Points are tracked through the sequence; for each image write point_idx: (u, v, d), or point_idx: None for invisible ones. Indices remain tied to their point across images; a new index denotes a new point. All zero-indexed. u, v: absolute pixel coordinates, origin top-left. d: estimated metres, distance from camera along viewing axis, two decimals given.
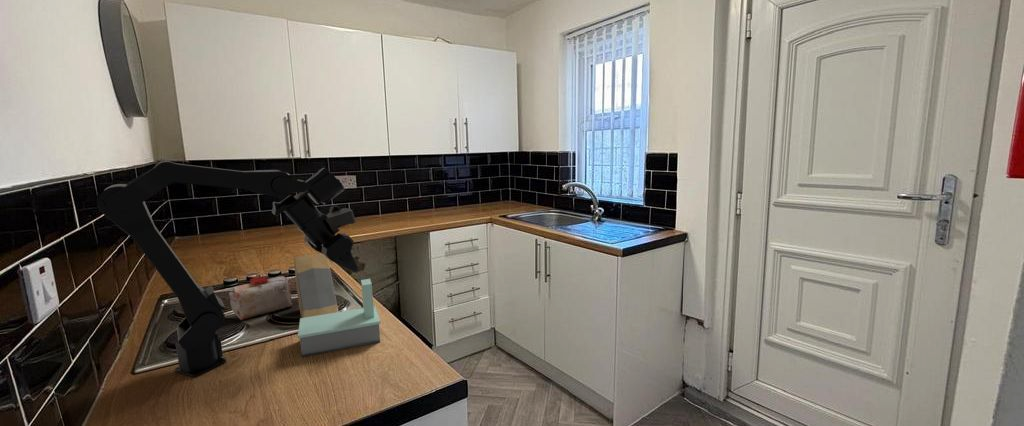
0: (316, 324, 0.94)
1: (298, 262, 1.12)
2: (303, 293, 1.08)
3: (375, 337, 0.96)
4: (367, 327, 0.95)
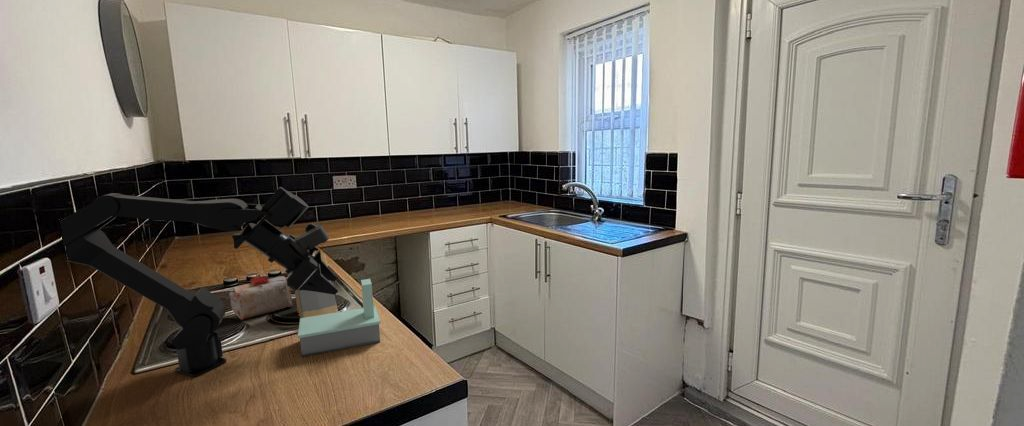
0: (316, 324, 0.94)
1: None
2: (302, 294, 1.07)
3: (375, 337, 0.96)
4: (367, 327, 0.95)
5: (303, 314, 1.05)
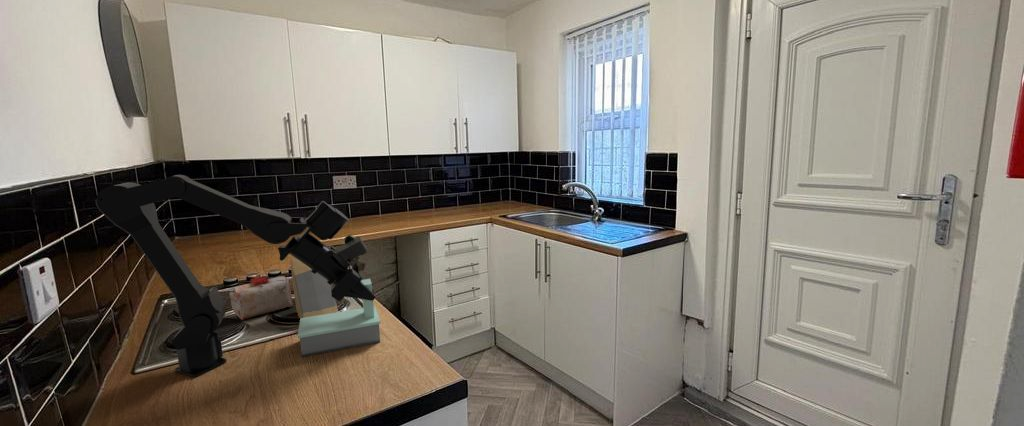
0: (316, 324, 0.94)
1: (295, 264, 1.11)
2: (301, 295, 1.07)
3: (375, 337, 0.96)
4: (367, 327, 0.95)
5: (303, 315, 1.04)
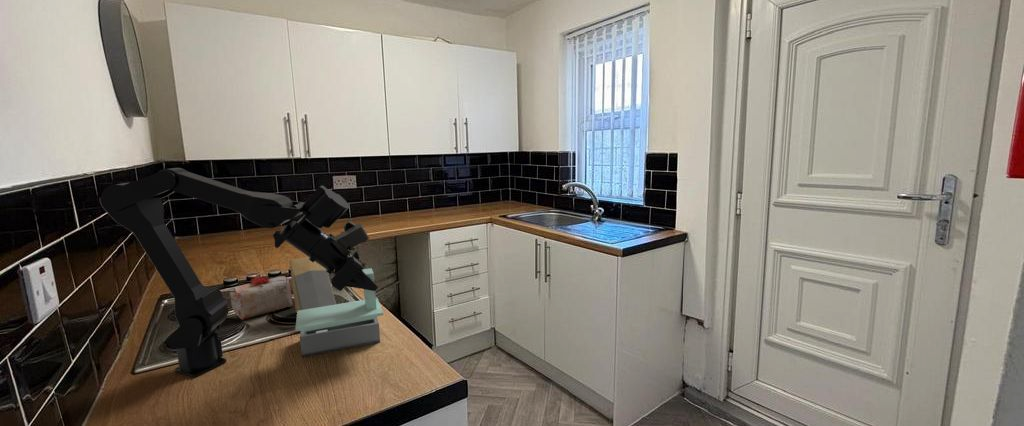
0: (315, 316, 0.88)
1: (295, 265, 1.10)
2: (301, 296, 1.06)
3: (375, 337, 0.96)
4: (367, 327, 0.95)
5: None
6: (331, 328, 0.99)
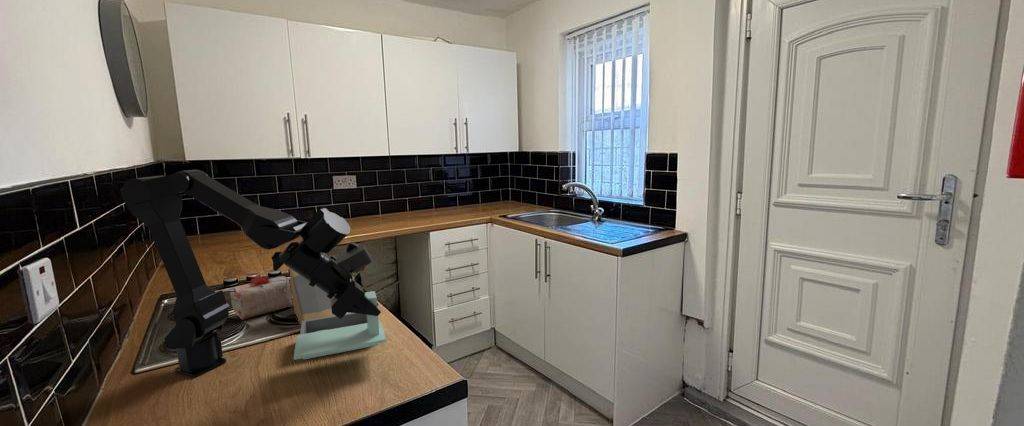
0: (314, 342, 0.84)
1: None
2: (301, 296, 1.06)
3: None
4: None
5: (303, 317, 1.03)
6: (331, 328, 0.99)
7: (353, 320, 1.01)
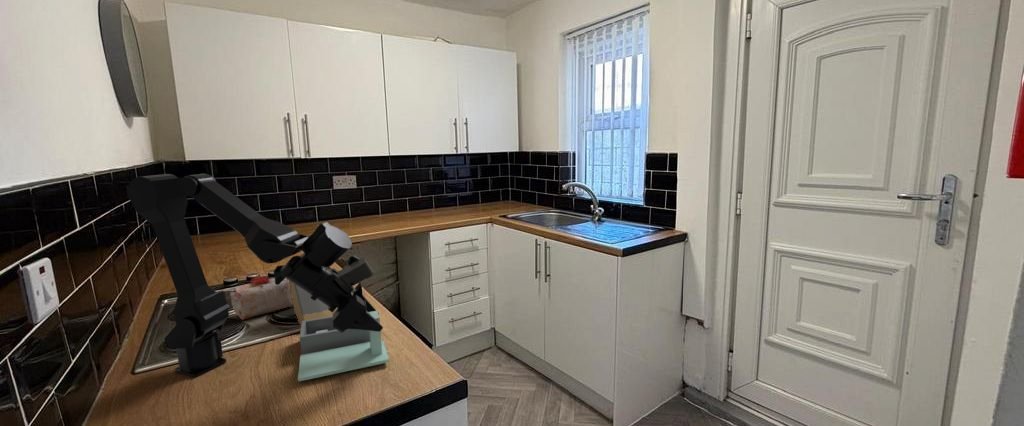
0: (318, 363, 0.85)
1: None
2: (301, 297, 1.05)
3: None
4: None
5: (304, 317, 1.03)
6: (331, 328, 0.99)
7: None
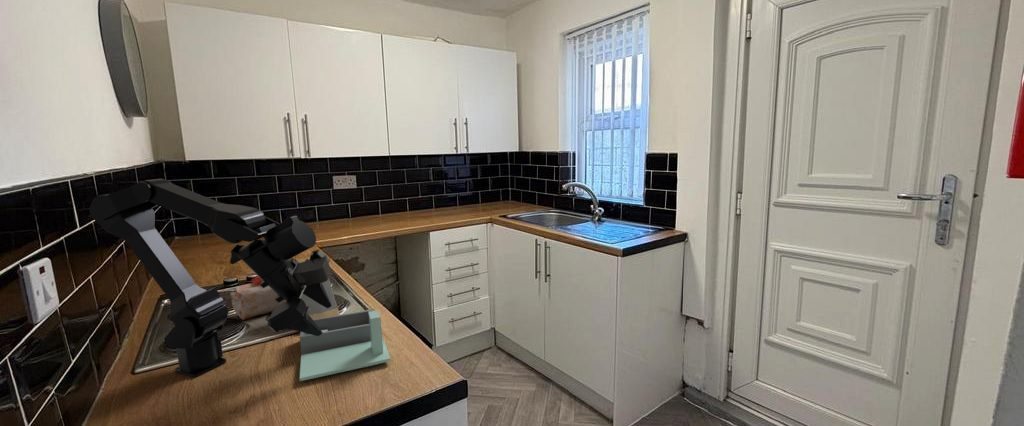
0: (319, 363, 0.85)
1: None
2: (301, 298, 1.05)
3: None
4: (367, 327, 0.95)
5: None
6: (331, 328, 0.99)
7: (353, 320, 1.01)
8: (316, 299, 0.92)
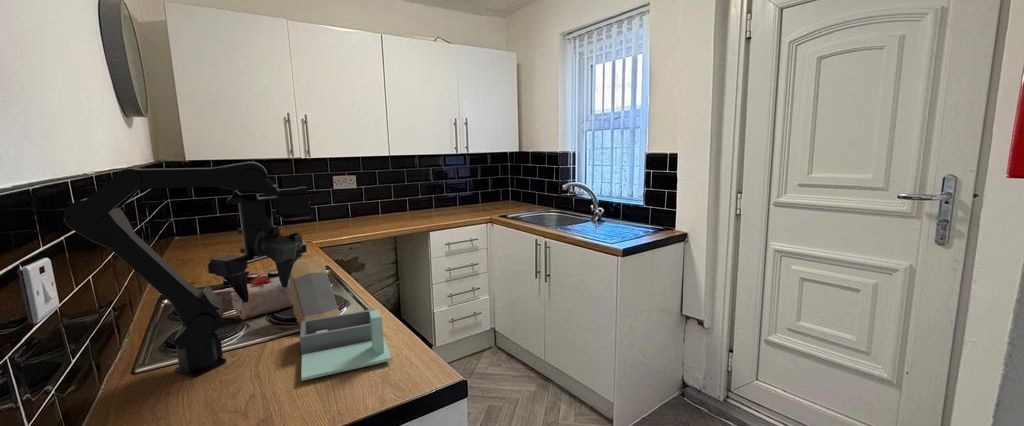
0: (320, 362, 0.85)
1: (293, 267, 1.08)
2: (302, 299, 1.04)
3: None
4: (367, 327, 0.95)
5: (305, 319, 1.02)
6: (331, 328, 0.99)
7: (353, 320, 1.01)
8: (279, 273, 0.95)
